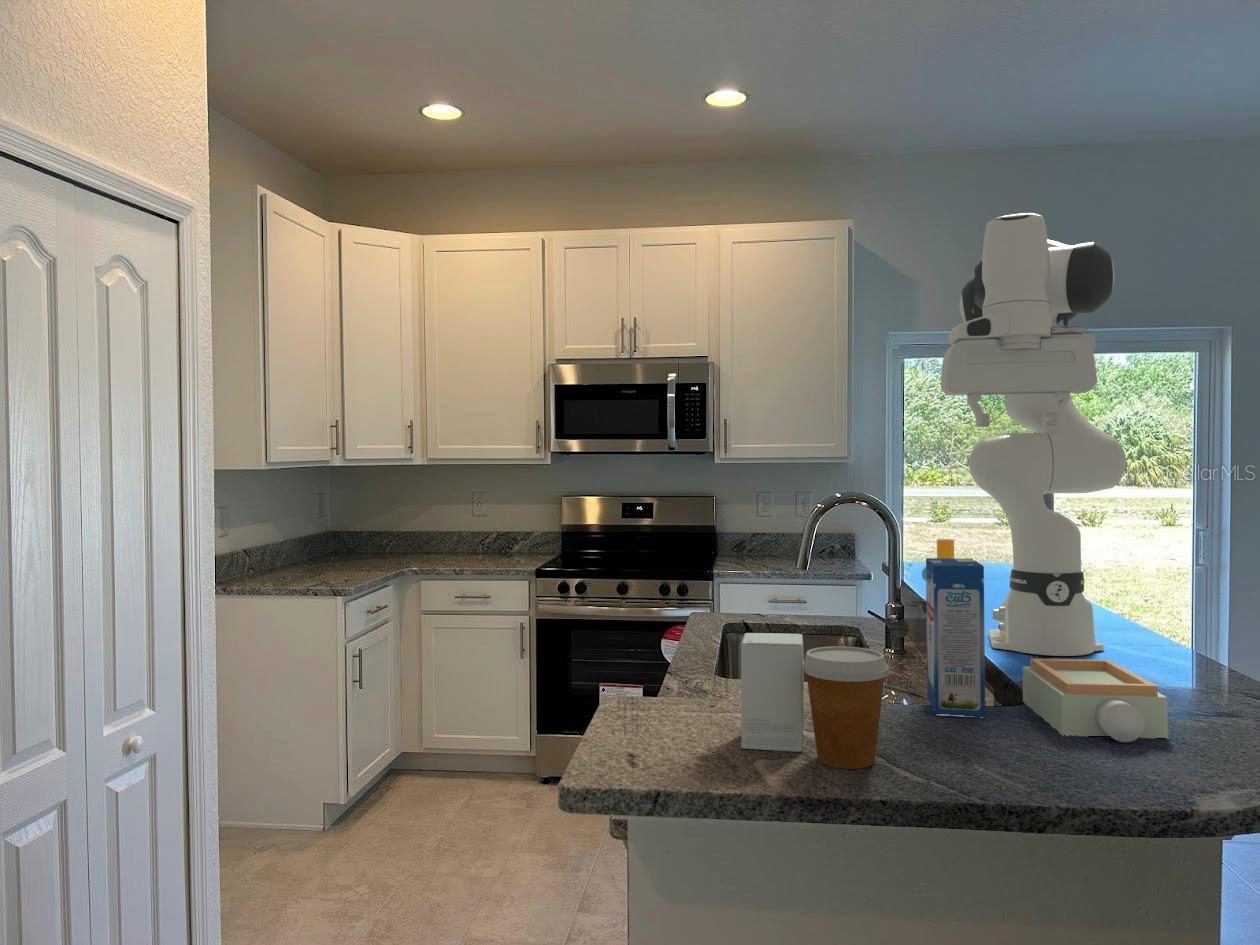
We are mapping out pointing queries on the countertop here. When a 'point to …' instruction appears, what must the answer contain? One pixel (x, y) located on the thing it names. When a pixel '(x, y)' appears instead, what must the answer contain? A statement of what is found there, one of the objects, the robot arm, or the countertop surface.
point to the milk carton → (955, 636)
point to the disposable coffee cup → (845, 703)
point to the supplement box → (772, 691)
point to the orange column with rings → (943, 551)
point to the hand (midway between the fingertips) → (1017, 426)
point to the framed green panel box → (1095, 699)
